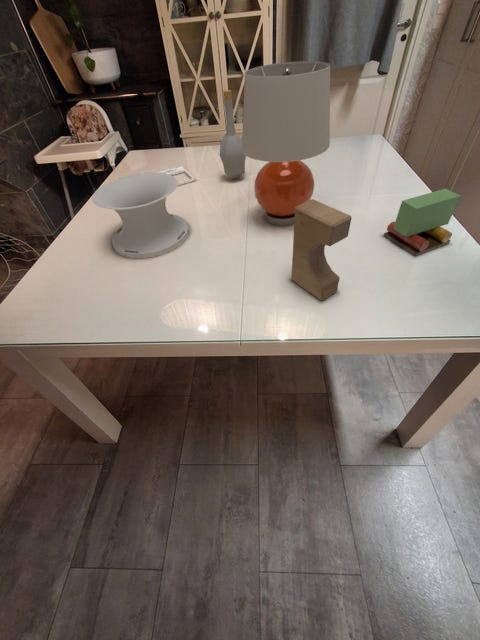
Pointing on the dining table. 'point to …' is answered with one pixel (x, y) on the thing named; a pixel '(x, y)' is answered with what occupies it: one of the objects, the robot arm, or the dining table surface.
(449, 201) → the bar
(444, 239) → the rod rack
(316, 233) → the decorative block
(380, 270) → the dining table surface
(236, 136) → the bottle
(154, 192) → the vase
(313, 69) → the lamp
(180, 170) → the photo frame
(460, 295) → the dining table surface
